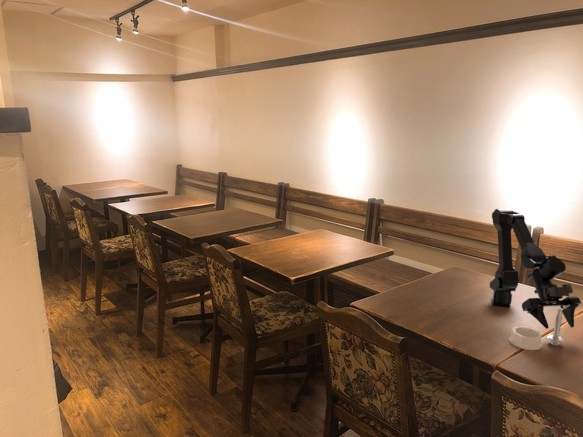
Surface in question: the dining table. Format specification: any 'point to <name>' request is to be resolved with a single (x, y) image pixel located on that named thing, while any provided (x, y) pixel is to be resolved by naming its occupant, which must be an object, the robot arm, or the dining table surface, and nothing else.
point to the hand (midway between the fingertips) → (560, 327)
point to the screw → (556, 330)
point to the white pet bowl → (526, 338)
